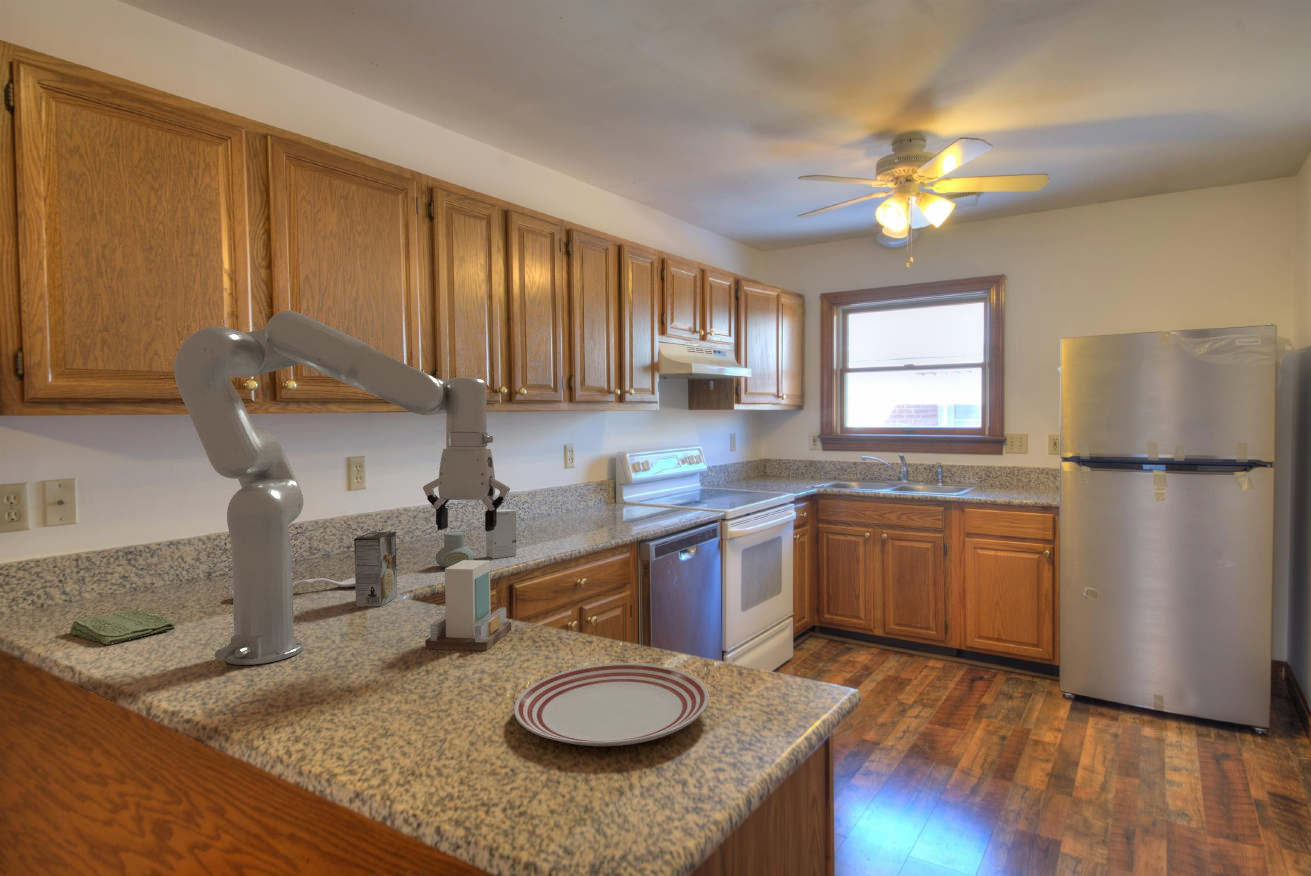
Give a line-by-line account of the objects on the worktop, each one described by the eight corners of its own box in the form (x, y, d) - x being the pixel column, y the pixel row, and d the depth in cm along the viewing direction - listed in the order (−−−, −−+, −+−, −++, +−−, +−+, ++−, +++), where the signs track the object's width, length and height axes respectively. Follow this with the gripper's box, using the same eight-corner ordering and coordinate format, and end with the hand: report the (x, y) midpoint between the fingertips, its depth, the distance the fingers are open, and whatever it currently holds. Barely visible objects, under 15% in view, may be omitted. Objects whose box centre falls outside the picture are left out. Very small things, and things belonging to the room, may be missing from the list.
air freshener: (436, 571, 199) (435, 536, 199) (434, 565, 207) (434, 532, 207) (475, 567, 203) (475, 533, 203) (472, 562, 211) (471, 530, 211)
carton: (491, 625, 139) (490, 560, 139) (474, 638, 131) (473, 569, 130) (464, 624, 140) (463, 560, 140) (446, 637, 131) (444, 568, 131)
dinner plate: (542, 784, 80) (541, 755, 80) (497, 699, 106) (496, 677, 106) (746, 738, 91) (746, 713, 91) (661, 671, 117) (661, 652, 116)
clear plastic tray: (482, 642, 128) (482, 626, 128) (430, 640, 129) (430, 624, 129) (507, 622, 141) (507, 607, 141) (460, 620, 142) (459, 606, 142)
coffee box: (371, 597, 169) (370, 531, 169) (397, 596, 169) (396, 531, 169) (354, 607, 160) (353, 537, 160) (382, 606, 160) (381, 537, 160)
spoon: (375, 588, 179) (375, 575, 179) (230, 606, 163) (230, 591, 163) (370, 582, 187) (370, 569, 187) (231, 598, 171) (231, 584, 171)
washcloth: (105, 650, 132) (104, 633, 132) (65, 636, 141) (65, 620, 141) (180, 631, 144) (180, 616, 144) (139, 620, 153) (139, 605, 153)
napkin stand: (486, 650, 128) (486, 642, 128) (425, 648, 130) (425, 640, 130) (511, 629, 141) (511, 622, 141) (455, 627, 142) (455, 620, 142)
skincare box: (492, 559, 216) (492, 511, 216) (485, 556, 221) (484, 509, 221) (517, 556, 221) (517, 509, 221) (510, 553, 226) (509, 507, 226)
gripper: (515, 441, 137) (515, 528, 137) (433, 440, 139) (433, 525, 140) (502, 442, 130) (501, 534, 130) (415, 441, 132) (414, 531, 132)
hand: (466, 529), depth 135 cm, fingers open, 9 cm apart
